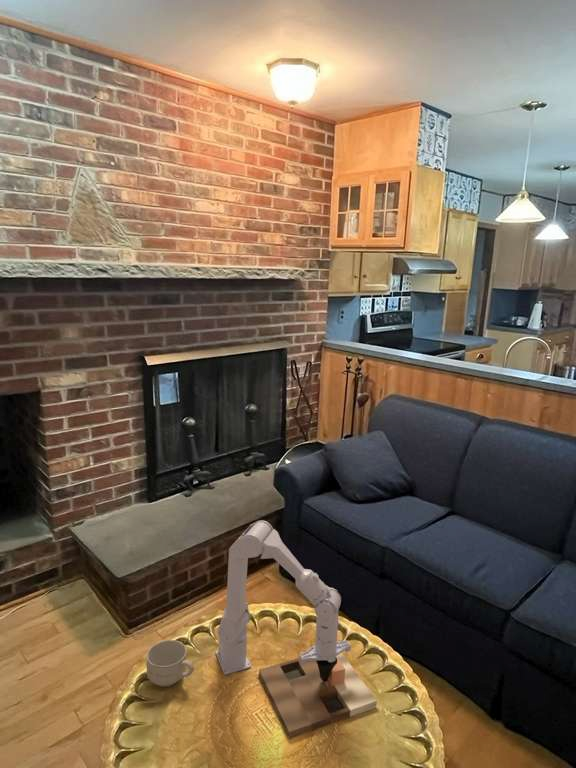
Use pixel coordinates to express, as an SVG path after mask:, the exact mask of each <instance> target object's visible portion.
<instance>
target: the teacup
mask: <svg viewBox="0 0 576 768" xmlns="http://www.w3.org/2000/svg"><path fill="white" fill-rule="evenodd" d="M187 651H188V650H187V646H186V645H185V644H184V643H182V642H181V641H179V640H174V639H166V640H161V641H159V642H158V641H157V642H156V643H155V644H153V645H151V646H150V647H149V648H148V649H147V651H146V653H145V657H146V674H147V678H148V679H149V681H150V682H151V683H152V684H154V685H156V686H159V687H169V686H173V685H174V684H176V683H177V682H178V681H179V680H183V679H184V678H187V677H189V676H191V675H192V674H193V673H194V671H195V667H194V663H193V662H192V661H190V660H189V659H187ZM186 666H187V668H188V670H189V671H186ZM185 671H186V672H185Z"/></svg>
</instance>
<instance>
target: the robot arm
mask: <svg viewBox="0 0 576 768" xmlns="http://www.w3.org/2000/svg"><path fill="white" fill-rule="evenodd" d="M260 555H261V556H260ZM258 556H260V559H261V560H265V559H267V560H268V559H273V560H275V562H277V563H278V564H279V565H280V566H281V567H282V568H283V569H284V570H285V571H287V572H288V573H289V574H290V575H291V576H292V577H293V578H294V579H295V587H296V588H297V589H298V590H299V591H300V592H301V594H303V596H304V597H306V599H307V600H308V601H309V602H310V603H311V604H312V605H313V606H314V609H313V610H314V613H315V615H316V620H315V621H316V622H315V623H316V625H315V641H314V642H315V644H314V645H313V646H311V647H309V648H308V649H307V650H306V651H304V652H302V653H299V657H298V658H299V661H300V662H301V664H302V665H305V664H306V662H309V661H312V660H316V662H317V665H318V668H319V672H320V678H321V679H322V681H323V682H326V681H327V680H328V678H329V675H330V673H331V671H332V669H333V667H334V666H335V665H336V664H337V658H336V656H338V655H339V654H340V653H342V654H343V652H345V651H346V652H347V653H349V652H351V649H352V648H351V646H352V644H351V643H350V642H349V641H348V640H341V641H340V640H339V641H338V630H339V609H340V607H341V603H342V596H341V594H340V593H339V591H338V590H337V589H335V588H334V587H329V586H328V585H326V584H325V582H324V581H322V580H321V579H320V578H319V576H320V575H318V573H317V572H314V571H313V570H312V569H308V568H304V567H303V565H301V563H300V562H299V561H298V559H297V558H296V557H295V556H294V555H293V554H292V552H291V551H290V549H289V548H288V547H287V546H286V545H285V543H284V542H283V541H282V538H281V537H280V533H279V531H277V530H276V529H275V528H273V526H272V525H271V524H270V523H269V522H268V521H267V520H258V521H255V522H253V523H252V524H250V525H249V526H248V527H247V528H246V529H245V530H244V531H243V532H242V534H241V535H240V536H239V537H238V538H237V539H236V540H235V541H234V542H233V543H232V545H231V546H230V547H229V549H228V565H227V584H226V585H227V586H226V605H225V607H224V608H225V609H224V610H223V613H222V616H221V620H220V624H219V625H218V627H217V634H218V635H217V636H218V650H215V655H216V657H217V660H218V663H219V665H220V668H221V670H222V673H223V675H224V676H225V675H229V674H232V673H237V672H240V671H243V670H247V669H250V668H251V666H252V664H251V662H250V661H249V658H248V656H247V646H248V645H247V643H248V642H247V641H248V639H247V638H248V635H247V634H248V631H247V625H248V624H249V623H250V621H251V613H250V609H249V603H248V602H246V598H247V597H246V595H247V579H248V578H247V575H248V564H249V563H248V562H249V561H248V560H249V559H251V558H256V557H257V558H258Z"/></svg>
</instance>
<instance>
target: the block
mask: <svg viewBox="0 0 576 768" xmlns="http://www.w3.org/2000/svg"><path fill="white" fill-rule="evenodd" d="M344 680H345V668H344V667H343V665H342V664H341V662H340V661H339V660H338V659H337V664H336V665H335V666H334V667H333V669H332V671H331V673H330V675H329V678H328V681H329V683H330V684H331V686H333V685H336V684H339V683H342V682H344Z"/></svg>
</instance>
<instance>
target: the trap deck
mask: <svg viewBox="0 0 576 768" xmlns="http://www.w3.org/2000/svg"><path fill="white" fill-rule="evenodd" d="M336 658H337V659H338V660H339V661H340V662H341V664H342V665H343V667H344V668H345V680H344V682H342V683H339V684H336V685H333V686H331V684H330V683H329V681H328V680H327V681H326V682H323V681H322V679H321V678H320V672H319V668H318V665H317V662H316V660H312V661H309V662H306V664H305V665H302V664H301V662H300V661H299V657H298V658H294V659H291V660H287V661H284V662H281V663H277V664H274V665H270V666H267V667H263V668H259V669H258V677H259V679H260V681H261V683H262V685H264V686H263V687H265V688H264V689H266V690H265V692H266V694H267V696H268V698H269V700H270V702H271V704H272V706H273V708H274V710H275V711H274V712H276V714H277V717H278V719H279V721H280V724H281V725H283V726H282V727H283V730H284V732H285V734H286V736H287V738H288V739H289V740H290V739H293V738H297V737H299V736H301V735H305V734H306V733H309V732H312V731H316V730H317V729H320V728H324V727H326V726H329V725H331V724H334V723H338V722H341V721H342V720H345V719H348V718H351V717H355V716H356V715H359V714H362V713H364V712H367V711H370V710H373V709H375V708H377V704H378V700H377V699H376V698H375V696H374V695H373V693H372V692H371V691H370V689H369V687H367V685H366V684H365V683H364V681H363V679H361V677H360V676H359V674H358V673H357V672H356V670H355V668H353V666H352V665H351V663H350V662H349V661H348V659H347V658H346V656H345V655H344V654H343V652H342V653H340V654H339V655H338V656H336Z"/></svg>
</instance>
